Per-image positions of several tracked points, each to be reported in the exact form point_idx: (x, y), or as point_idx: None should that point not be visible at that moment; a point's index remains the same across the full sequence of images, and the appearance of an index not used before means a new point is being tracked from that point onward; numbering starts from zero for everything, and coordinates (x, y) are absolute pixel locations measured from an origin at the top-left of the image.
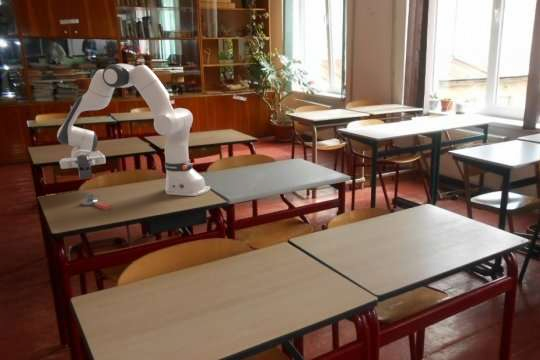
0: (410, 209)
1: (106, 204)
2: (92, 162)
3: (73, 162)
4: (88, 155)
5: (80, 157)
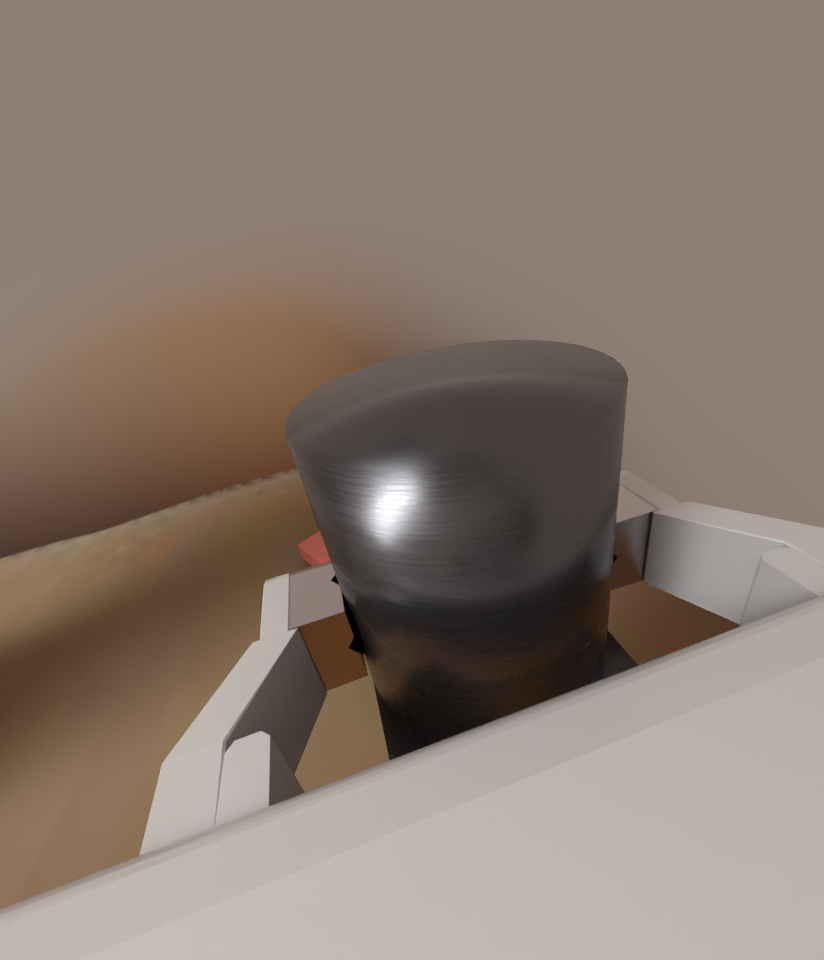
0: None
1: (320, 551)
2: (283, 579)
3: (766, 533)
4: (293, 424)
5: (464, 345)
